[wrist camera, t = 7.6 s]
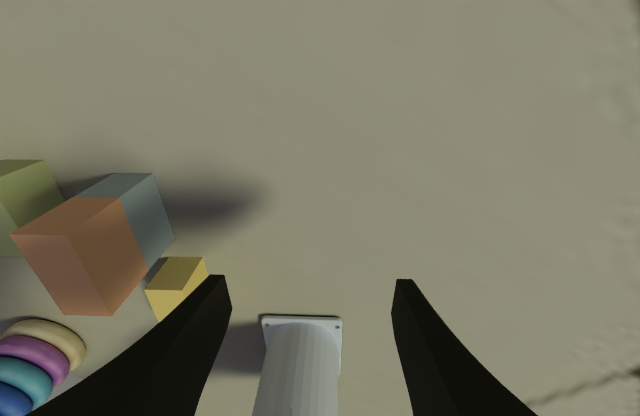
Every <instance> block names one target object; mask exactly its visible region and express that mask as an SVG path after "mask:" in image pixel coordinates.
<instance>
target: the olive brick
mask: <svg viewBox="0 0 640 416" xmlns="http://www.w3.org/2000/svg"><path fill="white" fill-rule="evenodd" d="M64 202H65V199H64V197H63V195H62V194H61V192H60V190H59V188H58V186H57V184H56V182H55V180H54V178H53V176H52V174H51V173H50V171H49V169H48V167H47V165H46V163H45V161H44V160H3V161H0V256H1V257H24V256H23V254H22V253H21V251H20V250H19V248H18V247H17V245H16V244H15V242H14V241H13V240H12V238H11V237H10V235H9V234H10V233H12V232H14V231H16V230H17V229H19V228H21V227H22V226H24V225H26V224H28V223H29V222H31V221H33V220H34V219H36V218H38V217H40V216H41V215H43V214H45V213H46V212H48V211H50V210H52V209H53V208H55V207H57V206H59V205H60V204H62V203H64Z"/></svg>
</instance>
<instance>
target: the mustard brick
mask: <svg viewBox="0 0 640 416" xmlns="http://www.w3.org/2000/svg"><path fill="white" fill-rule="evenodd" d="M207 277H208V274H207V271H206V267H205V264H204V260H203V257H169V258H168V259H167V261H166V262H165V263H164V265H163V266H162V267H161V268H160V270H159V271H158V272H157V274H156V275H155V276H154V277H153V279H152V280H151V281H150V283H149V284H148V285H147V286H146V288H145V289H144V291H145V293H146V295H147V297H148V300H149V302H150V304H151V306H152V308H153V311H154V313H155V315H156V317H157V320H158V322H160V321H162V320H163V319H164V318H165V317H166V316H167V315H168V314H169V313H170V312H172V311H173V310H174V309H175V308H176V307H177V306H178V305H179V304H180V303H181V302H182V301H183V300H184V299H185V298H186V297H187V296H188V295H189V294H190V293H191V292H192V291H194V290H195V289H196V288H197V287H198V286H199V285H200V284H201V283H202V282H203V281H204V280H205V279H206V278H207Z"/></svg>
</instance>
